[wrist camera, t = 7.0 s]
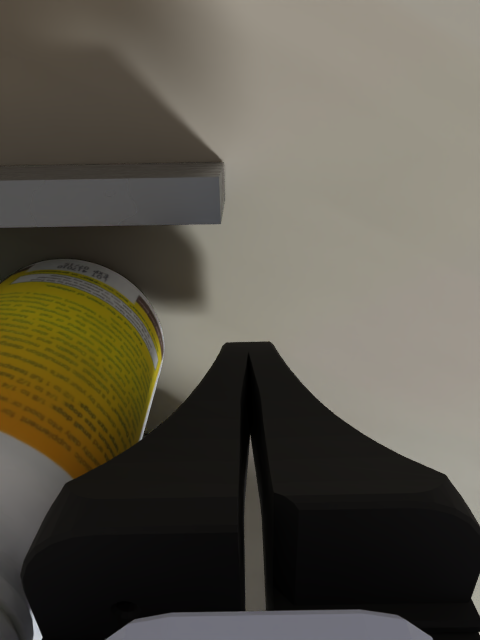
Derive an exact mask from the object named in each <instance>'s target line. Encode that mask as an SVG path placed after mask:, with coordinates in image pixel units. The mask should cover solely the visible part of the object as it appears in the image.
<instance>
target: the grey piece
mask: <svg viewBox="0 0 480 640" xmlns="http://www.w3.org/2000/svg"><path fill="white" fill-rule="evenodd" d="M224 202H225V183H224V162H202V163H146V164H89V165H32V166H0V228H10V227H70V226H129V225H189V224H221V221H222V214H223V208H224ZM147 435H148V434H143V437H142V439H143V438H144V437H146V436H147Z"/></svg>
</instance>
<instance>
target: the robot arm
mask: <svg viewBox="0 0 480 640" xmlns="http://www.w3.org/2000/svg"><path fill="white" fill-rule="evenodd" d="M250 435H251V442H252V449H253V456H254V463H255V470H256V477H257V484H258V491H259V498H260V505H261V515H262V533H263V554H264V575H265V597H266V611H245V552H244V506H245V492H246V480H247V467H248V455H249V442H250ZM479 574H480V526H479V524H478V522H477V521H476V519H475V517H474V515H473V514H472V512H471V510H470V509H469V507H468V506H467V504H466V503H465V501H464V499H463V498H462V496H461V495H460V494H459V492H458V491H457V490H456V488H455V487H454V486H453V484H452V483H451V482H450V480H449V479H448V477H447V476H446V475H445V474H443V473H440V472H438V471H436V470H433V469H431V468H429V467H427V466H424V465H422V464H420V463H417V462H415V461H413V460H411V459H408V458H406V457H404V456H402V455H400V454H398V453H396V452H394V451H392V450H390V449H389V448H387V447H385V446H383V445H381V444H379V443H377V442H376V441H374V440H372V439H371V438H369V437H367V436H366V435H364V434H362V433H361V432H359V431H358V430H356V429H355V428H353V427H352V426H350V425H349V424H347V423H346V422H345V421H343V420H342V419H340V418H339V417H338V416H336V415H335V414H334V413H333V412H331V411H330V410H329V409H328V408H327V407H325V406H324V405H323V404H322V403H321V402H320V401H319V400H318V399H317V398H316V397H315V396H314V395H313V394H312V393H311V392H310V391H309V390H308V389H307V388H306V387H305V386H304V385H303V384H302V383H301V382H300V381H299V379H298V378H297V377H296V376H295V375H294V373H293V372H292V371H291V370H290V368H289V367H288V366H287V365H286V363H285V362H284V360H283V359H282V358H281V356H280V355H279V353H278V352H277V350H276V348H275V346H274V345H273V344H272V343H271V342H230V343H225V344H224V345H223V346H222V348H221V351H220V353H219V355H218V356H217V358H216V360H215V362H214V363H213V365H212V366H211V368H210V369H209V371H208V372H207V374H206V375H205V377H204V378H203V379H202V381H201V382H200V383H199V385H198V386H197V387H196V388H195V390H194V391H193V392H192V393H191V394H190V396H189V397H188V398H187V399H186V400H185V401H184V403H183V404H182V405H181V406H180V407H179V408H178V409H177V410H176V411H175V412H174V413H173V414H172V415H171V416H170V417H169V418H168V419H167V420H165V421H164V422H163V423H162V424H161V425H160V426H158V427H157V428H156V429H155V430H153V431H152V432H151V433H150V434H148V435H147V436H146V437H144V438H143V439H142V440H140V441H139V442H137V443H136V444H134V445H133V446H132V447H130V448H129V449H127V450H125V451H124V452H122V453H121V454H119V455H117V456H116V457H114V458H112V459H111V460H109V461H107V462H106V463H104V464H102V465H100V466H98V467H96V468H94V469H92V470H90V471H89V472H87V473H85V474H83V475H81V476H79V477H77V478H75V479H73V480H71V481H69V482H67V483H65V485H64V486H63V488H62V490H61V491H60V493H59V495H58V496H57V498H56V499H55V501H54V502H53V504H52V505H51V507H50V509H49V511H48V512H47V514H46V516H45V518H44V520H43V522H42V524H41V526H40V528H39V530H38V532H37V534H36V536H35V538H34V540H33V542H32V544H31V546H30V548H29V551H28V553H27V555H26V557H25V559H24V561H23V565H22V569H21V574H20V577H21V582H22V587H23V591H24V593H25V596H26V598H27V600H28V603H29V605H30V608H31V610H32V613H33V615H34V618H35V620H36V623H37V625H38V627H39V630H40V632H41V635H42V637H43V638H42V640H480V635H479V633H478V632H480V616H479V614H478V612H477V610H476V608H475V606H474V604H473V601H472V599H471V597H472V594H473V591H474V588H475V585H476V582H477V580H478V577H479Z"/></svg>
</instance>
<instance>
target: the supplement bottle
mask: <svg viewBox="0 0 480 640" xmlns="http://www.w3.org/2000/svg"><path fill="white" fill-rule="evenodd" d="M163 357H164V337H163V332H162V328H161V325H160V321H159V319H158V317H157V314H156V312H155V311H154V309H153V307H152V305H151V304H150V302H149V301H148V300H147V298H146V297H145V296H144V294H143V293H142V292H141V291H140V290H139V289H138V288H137V287H136V286H134V285H133V284H132V283H131V282H130V281H128V280H127V279H126V278H124V277H123V276H121V275H119V274H118V273H116V272H114V271H112V270H110V269H108V268H106V267H103V266H101V265H98V264H95V263H91V262H87V261H82V260H75V259H53V260H46V261H42V262H38V263H35V264H31V265H29V266H27V267H24V268H22V269H20V270H19V271H17V272H15V273H14V274H12V275H11V276H9V277H7V278H6V279H5V280H3V281H2V282H1V283H0V640H42V638H43V637H42V635H41V632H40V630H39V627H38V625H37V623H36V620H35V618H34V615H33V613H32V610H31V608H30V605H29V603H28V600H27V598H26V596H25V593H24V591H23V587H22V582H21V577H20V574H21V569H22V565H23V561H24V559H25V557H26V555H27V553H28V551H29V548H30V546H31V544H32V542H33V540H34V538H35V536H36V534H37V532H38V530H39V528H40V526H41V524H42V522H43V520H44V518H45V516H46V514H47V512H48V511H49V509H50V507H51V505H52V504H53V502H54V501H55V499H56V498H57V496H58V495H59V493H60V491H61V490H62V488H63V486H64V485H65V483H67V482H69V481H71V480H73V479H75V478H77V477H79V476H81V475H83V474H85V473H87V472H89V471H90V470H92V469H94V468H96V467H98V466H100V465H102V464H104V463H106V462H107V461H109V460H111V459H112V458H114V457H116V456H117V455H119V454H121V453H122V452H124V451H125V450H127V449H129V448H130V447H132V446H133V445H134V444H136V443H137V442H139V441H140V440H142V437H143V433H144V430H145V426H146V423H147V419H148V415H149V412H150V408H151V404H152V401H153V397H154V393H155V390H156V386H157V382H158V378H159V375H160V372H161V368H162V363H163Z"/></svg>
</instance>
